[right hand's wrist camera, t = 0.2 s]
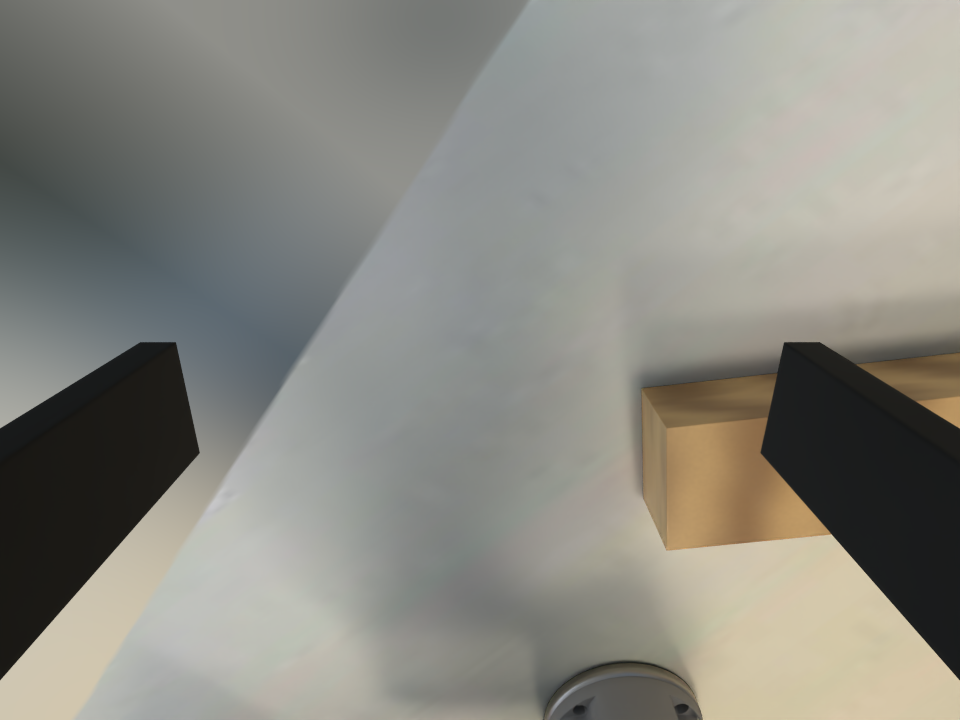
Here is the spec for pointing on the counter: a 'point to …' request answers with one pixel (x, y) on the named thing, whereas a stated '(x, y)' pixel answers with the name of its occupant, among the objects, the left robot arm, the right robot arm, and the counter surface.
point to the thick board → (747, 453)
